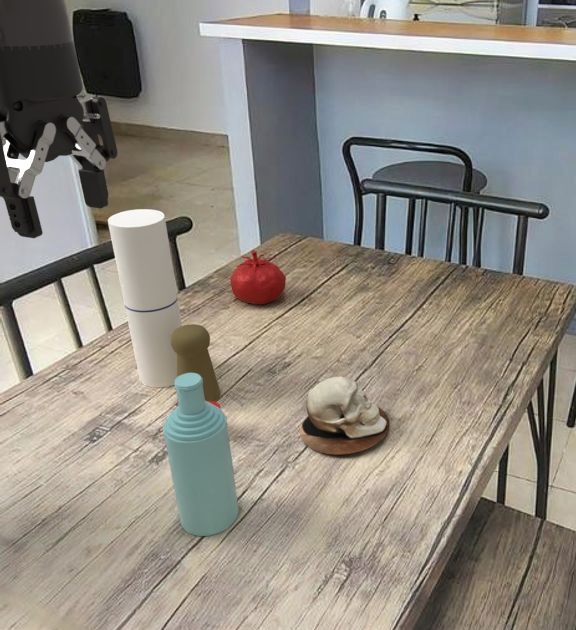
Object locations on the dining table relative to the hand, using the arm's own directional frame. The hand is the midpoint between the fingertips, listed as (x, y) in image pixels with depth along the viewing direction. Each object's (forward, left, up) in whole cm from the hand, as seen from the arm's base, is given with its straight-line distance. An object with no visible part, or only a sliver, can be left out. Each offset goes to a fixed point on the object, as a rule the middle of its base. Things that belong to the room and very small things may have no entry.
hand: (65, 220), depth 65 cm
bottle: (+9, -6, -34) cm, 36 cm away
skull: (+27, +6, -34) cm, 44 cm away
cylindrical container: (+3, +26, -34) cm, 43 cm away
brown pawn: (+8, +19, -34) cm, 40 cm away
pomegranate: (+19, +49, -34) cm, 63 cm away
